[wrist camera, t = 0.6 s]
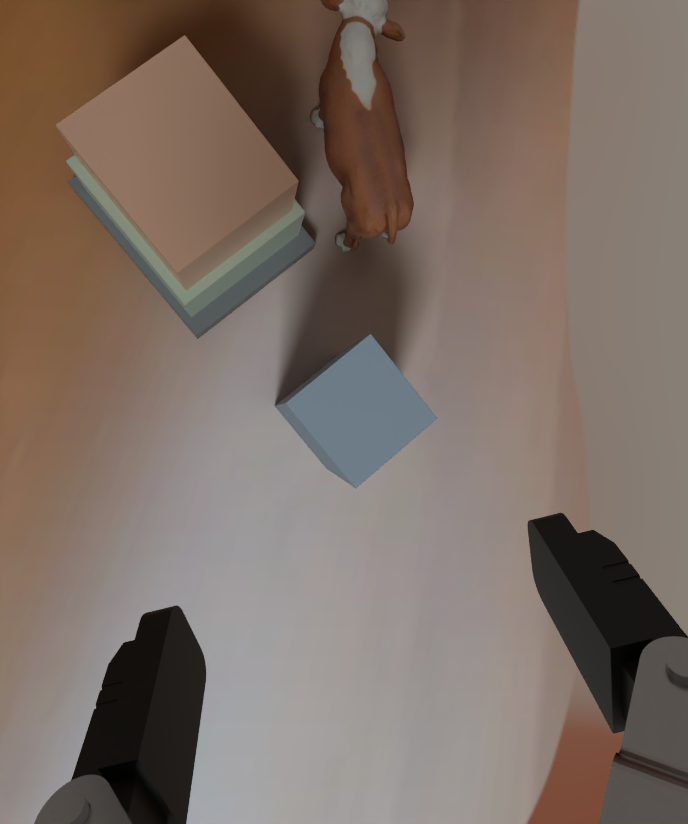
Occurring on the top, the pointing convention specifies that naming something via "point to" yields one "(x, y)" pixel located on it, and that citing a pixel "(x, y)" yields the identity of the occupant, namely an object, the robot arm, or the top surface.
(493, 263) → the top surface
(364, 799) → the top surface
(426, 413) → the column brick
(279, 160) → the brick tower
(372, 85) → the bull figurine
